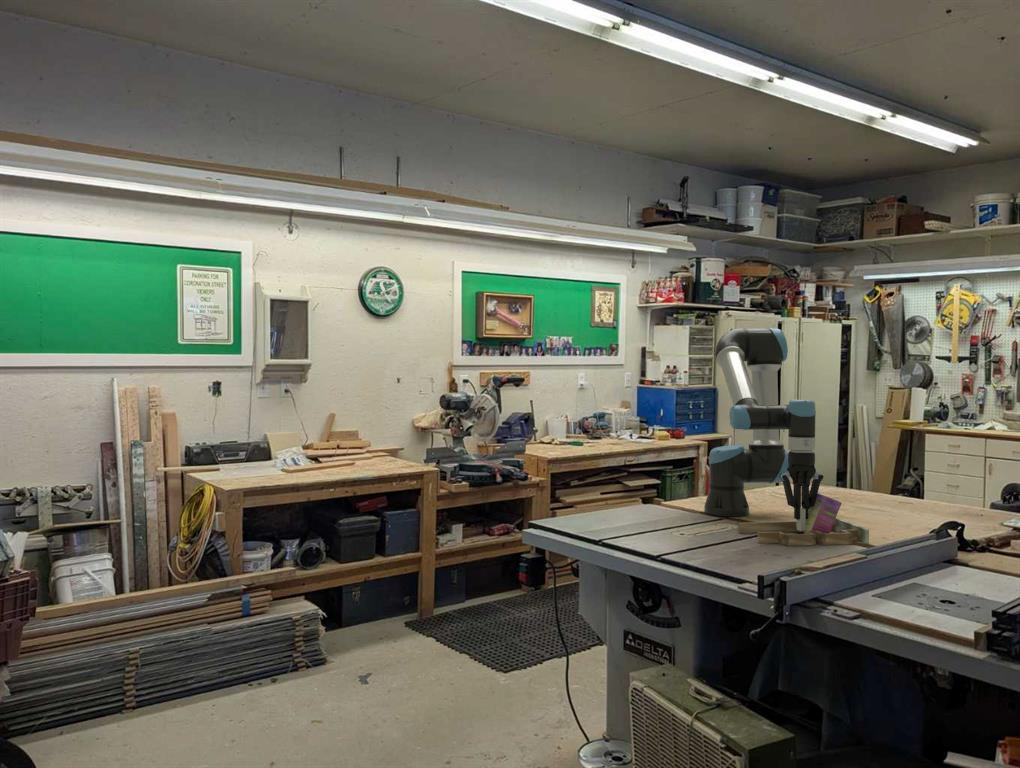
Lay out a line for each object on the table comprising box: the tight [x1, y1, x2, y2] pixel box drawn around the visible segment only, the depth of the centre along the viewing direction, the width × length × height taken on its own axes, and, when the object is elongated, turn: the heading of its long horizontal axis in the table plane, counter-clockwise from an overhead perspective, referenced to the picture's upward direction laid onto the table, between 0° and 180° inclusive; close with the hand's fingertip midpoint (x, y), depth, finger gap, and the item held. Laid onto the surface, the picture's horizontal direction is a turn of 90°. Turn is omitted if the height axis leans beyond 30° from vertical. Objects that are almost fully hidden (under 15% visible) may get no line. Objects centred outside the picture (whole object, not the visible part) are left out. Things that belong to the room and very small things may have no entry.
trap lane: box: [737, 517, 870, 547], centre depth 228 cm, size 19×31×4 cm, turn 96°
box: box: [796, 490, 843, 533], centre depth 230 cm, size 10×6×12 cm, turn 3°
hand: (801, 530), depth 229 cm, fingers closed
